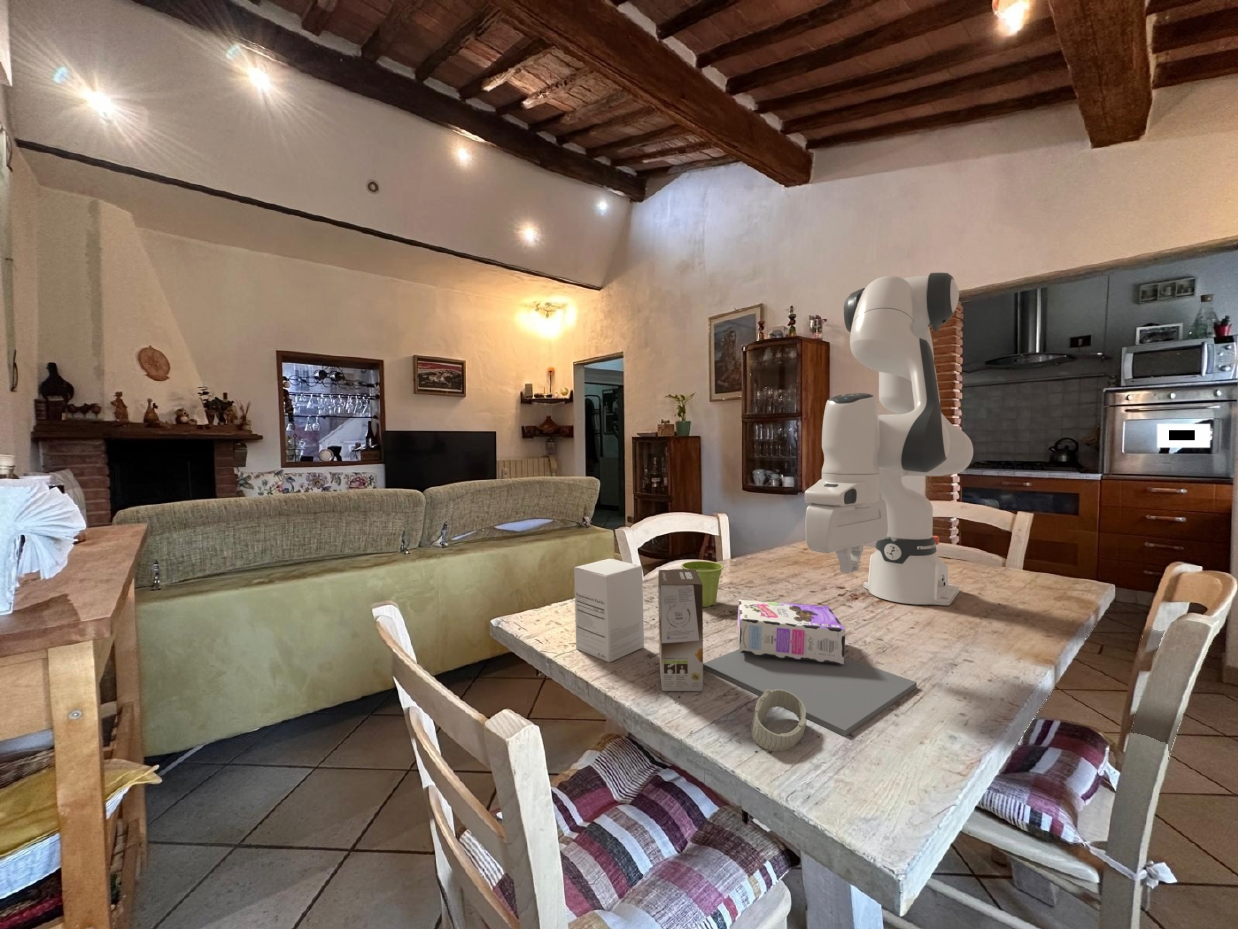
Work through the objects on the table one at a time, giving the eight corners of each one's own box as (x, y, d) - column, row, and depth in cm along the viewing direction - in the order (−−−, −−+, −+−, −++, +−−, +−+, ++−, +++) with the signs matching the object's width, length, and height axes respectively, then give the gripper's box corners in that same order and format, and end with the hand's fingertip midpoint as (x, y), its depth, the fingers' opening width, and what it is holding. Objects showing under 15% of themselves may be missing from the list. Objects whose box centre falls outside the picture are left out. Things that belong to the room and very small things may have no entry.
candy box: (846, 628, 79) (739, 619, 83) (845, 666, 79) (738, 654, 83) (829, 605, 93) (737, 597, 96) (828, 637, 93) (736, 628, 96)
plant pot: (681, 596, 119) (681, 560, 119) (722, 597, 118) (721, 560, 118) (681, 609, 110) (680, 570, 110) (724, 610, 109) (724, 571, 108)
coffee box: (704, 692, 74) (704, 584, 73) (661, 692, 74) (659, 584, 73) (697, 664, 83) (696, 568, 82) (658, 664, 83) (657, 568, 82)
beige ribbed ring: (768, 710, 69) (768, 675, 68) (816, 726, 65) (816, 688, 65) (740, 743, 61) (740, 703, 61) (792, 762, 58) (792, 720, 57)
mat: (777, 638, 93) (777, 633, 93) (916, 687, 74) (916, 682, 74) (702, 668, 81) (702, 663, 81) (844, 736, 62) (844, 730, 62)
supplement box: (610, 634, 96) (609, 557, 96) (645, 647, 90) (644, 565, 89) (574, 648, 90) (572, 566, 89) (608, 664, 84) (607, 575, 83)
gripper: (862, 485, 93) (862, 559, 94) (798, 492, 81) (797, 578, 81) (898, 487, 88) (897, 566, 88) (835, 495, 76) (834, 586, 76)
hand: (849, 572), depth 85 cm, fingers closed
